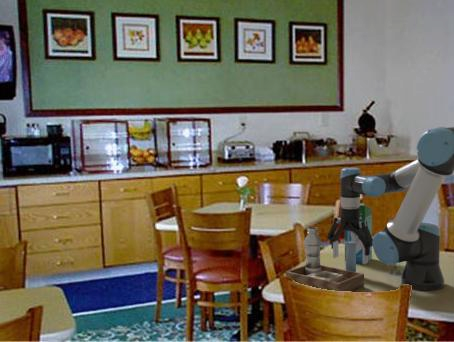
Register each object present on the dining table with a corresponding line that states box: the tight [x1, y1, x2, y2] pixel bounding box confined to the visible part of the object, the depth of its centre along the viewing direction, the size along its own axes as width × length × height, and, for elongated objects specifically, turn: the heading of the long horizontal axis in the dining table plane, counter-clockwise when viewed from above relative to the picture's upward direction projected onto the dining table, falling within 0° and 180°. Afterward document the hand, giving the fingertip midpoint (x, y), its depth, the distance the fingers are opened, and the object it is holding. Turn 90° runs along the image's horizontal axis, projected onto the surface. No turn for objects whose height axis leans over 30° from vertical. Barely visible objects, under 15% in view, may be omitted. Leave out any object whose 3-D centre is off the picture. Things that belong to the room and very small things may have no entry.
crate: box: [285, 264, 365, 292], centre depth 217 cm, size 24×16×5 cm, turn 45°
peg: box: [344, 242, 357, 272], centre depth 230 cm, size 4×4×13 cm
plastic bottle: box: [303, 227, 322, 275], centre depth 225 cm, size 6×7×20 cm
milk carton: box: [344, 202, 373, 264], centre depth 251 cm, size 9×9×25 cm
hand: (350, 260), depth 230 cm, fingers open, 13 cm apart
